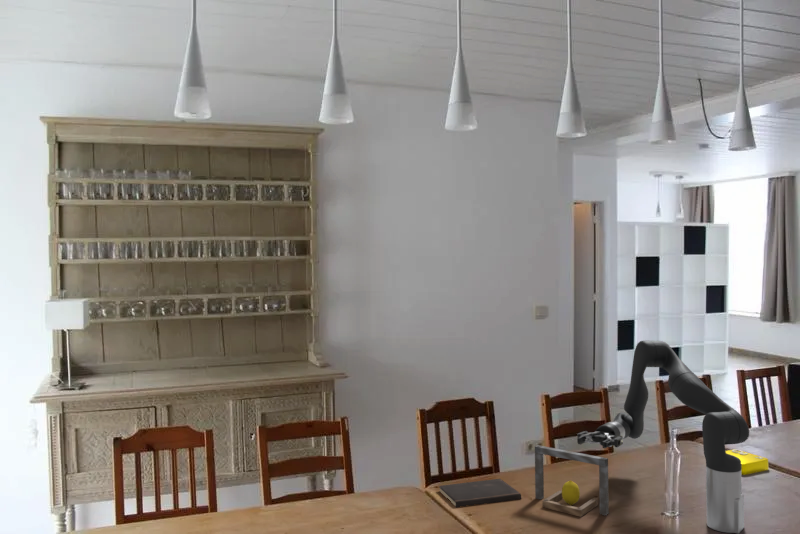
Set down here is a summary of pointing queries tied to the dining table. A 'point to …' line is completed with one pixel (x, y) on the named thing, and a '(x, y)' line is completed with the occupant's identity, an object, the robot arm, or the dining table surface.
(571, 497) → the lemon
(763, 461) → the yellow flat square block
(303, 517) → the dining table surface
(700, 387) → the robot arm
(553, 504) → the keeper pocket
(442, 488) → the hardcover book
